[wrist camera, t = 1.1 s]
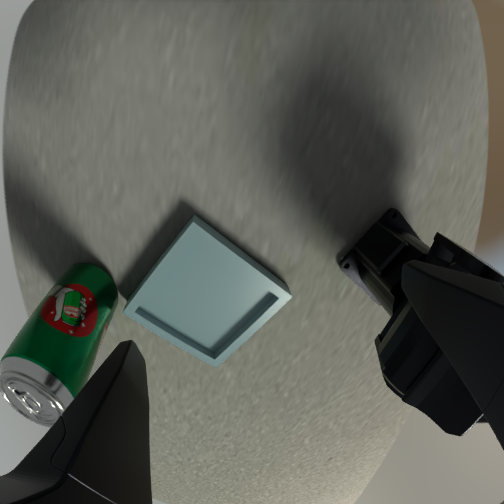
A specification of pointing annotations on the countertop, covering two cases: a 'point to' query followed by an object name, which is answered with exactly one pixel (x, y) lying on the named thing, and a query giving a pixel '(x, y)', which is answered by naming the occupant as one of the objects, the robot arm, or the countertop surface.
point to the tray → (206, 294)
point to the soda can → (58, 344)
